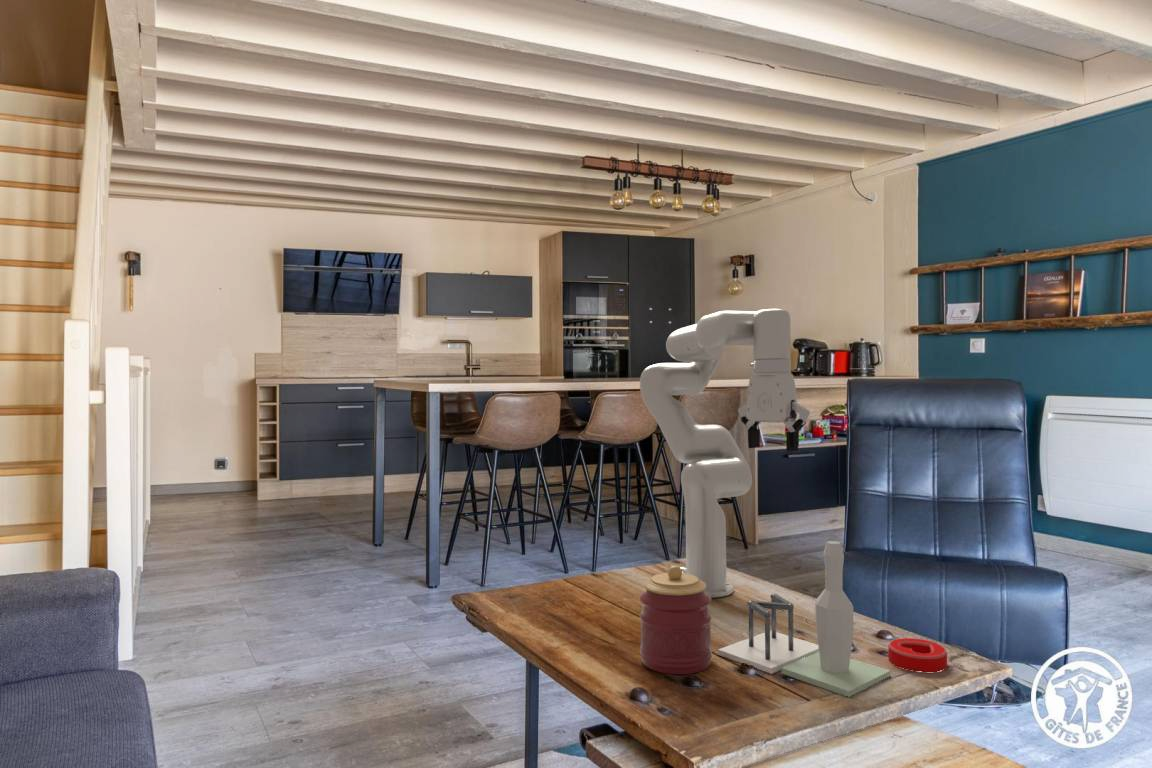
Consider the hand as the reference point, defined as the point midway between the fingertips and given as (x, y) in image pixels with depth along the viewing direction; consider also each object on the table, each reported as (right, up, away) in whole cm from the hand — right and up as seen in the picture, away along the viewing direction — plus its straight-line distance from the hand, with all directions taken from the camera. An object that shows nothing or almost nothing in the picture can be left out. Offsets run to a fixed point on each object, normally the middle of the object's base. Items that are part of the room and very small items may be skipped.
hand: (772, 449), depth 161 cm
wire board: (-5, -37, -18) cm, 41 cm away
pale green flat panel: (+4, -37, -29) cm, 47 cm away
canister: (-23, -37, -22) cm, 49 cm away
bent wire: (-5, -37, -18) cm, 41 cm away
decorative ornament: (+20, -37, -23) cm, 48 cm away
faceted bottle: (+3, -36, -28) cm, 46 cm away
